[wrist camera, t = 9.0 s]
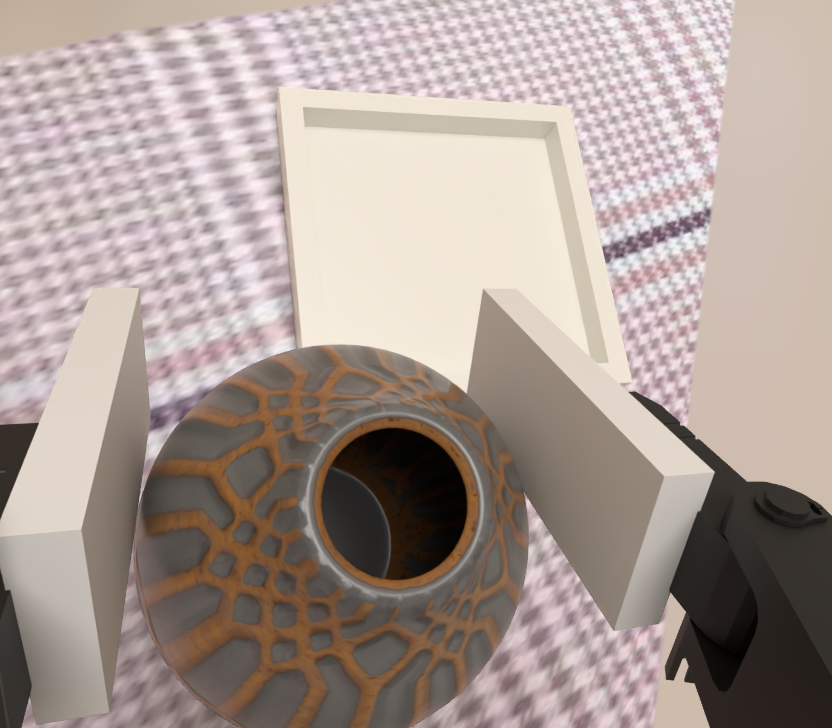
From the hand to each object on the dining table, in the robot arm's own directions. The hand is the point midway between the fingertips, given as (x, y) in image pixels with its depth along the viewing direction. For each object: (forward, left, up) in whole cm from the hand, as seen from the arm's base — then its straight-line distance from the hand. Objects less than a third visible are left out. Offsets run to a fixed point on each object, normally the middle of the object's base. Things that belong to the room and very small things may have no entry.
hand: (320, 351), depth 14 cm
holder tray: (+9, +10, -15) cm, 20 cm away
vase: (0, -4, -4) cm, 5 cm away
